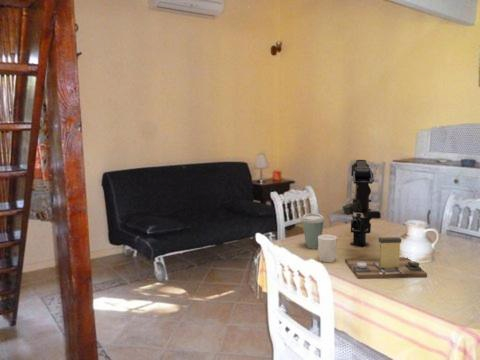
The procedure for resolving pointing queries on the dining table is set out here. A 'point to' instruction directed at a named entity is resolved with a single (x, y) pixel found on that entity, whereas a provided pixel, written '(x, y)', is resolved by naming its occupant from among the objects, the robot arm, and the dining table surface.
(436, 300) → the dining table surface
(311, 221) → the disposable coffee cup
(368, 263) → the control panel
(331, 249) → the white cup
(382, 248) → the yellow upright block
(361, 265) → the grey push button
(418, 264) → the black rocker switch
